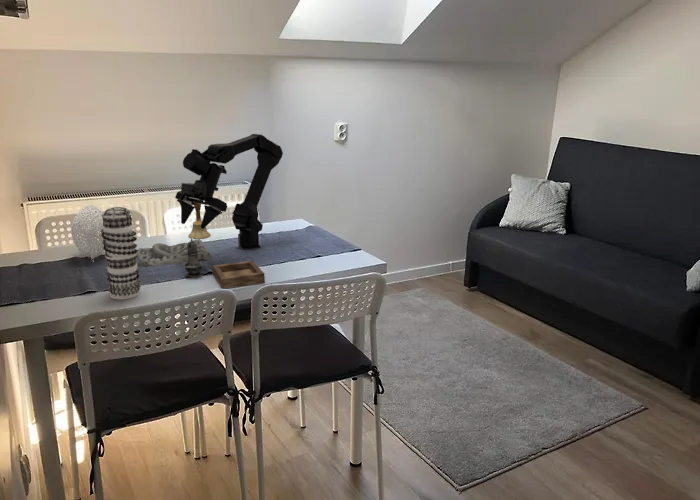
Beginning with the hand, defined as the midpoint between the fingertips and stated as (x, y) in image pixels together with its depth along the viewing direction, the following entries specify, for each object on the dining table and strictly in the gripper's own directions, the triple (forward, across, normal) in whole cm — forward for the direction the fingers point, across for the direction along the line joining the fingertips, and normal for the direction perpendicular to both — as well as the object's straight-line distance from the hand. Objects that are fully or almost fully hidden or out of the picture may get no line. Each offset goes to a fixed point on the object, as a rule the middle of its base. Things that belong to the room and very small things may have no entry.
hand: (192, 226), depth 194 cm
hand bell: (-1, -24, +28) cm, 37 cm away
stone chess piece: (+15, +7, +1) cm, 17 cm away
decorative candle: (+26, +3, -18) cm, 32 cm away
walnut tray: (+12, +20, +6) cm, 24 cm away
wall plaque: (+11, -14, +9) cm, 20 cm away
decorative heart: (+19, -33, -6) cm, 39 cm away
